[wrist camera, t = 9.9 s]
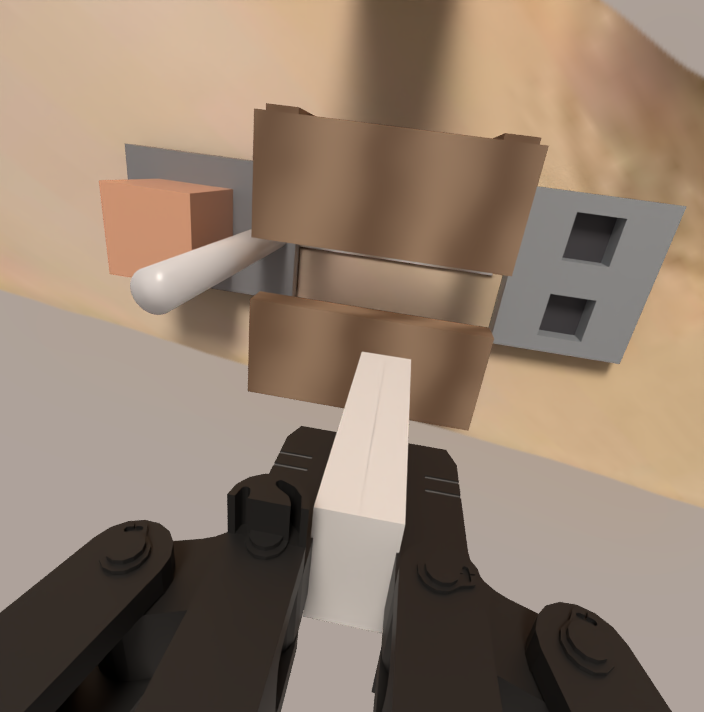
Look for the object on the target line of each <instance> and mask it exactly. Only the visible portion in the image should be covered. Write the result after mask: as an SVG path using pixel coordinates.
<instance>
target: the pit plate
mask: <svg viewBox="0 0 704 712" xmlns="http://www.w3.org/2000/svg"><path fill="white" fill-rule="evenodd" d="M686 207H687V206H679V205H672V204H665V203H657V202H650V201H642V200H635V199H627V198H620V197H612V196H605V195H597V194H590V193H582V192H575V191H567V190H560V189H552V188H545V187H538V186H537V189H536V193H535V196H534V200H533V203H532V207H531V210H530V214H529V217H528V221H527V224H526V228H525V232H524V235H523V239H522V242H521V246H520V249H519V253H518V256H517V260H516V263H515V267H514V271H513V274H512V276H505V275H503V277H502V280H501V284H500V288H499V291H498V295H497V299H496V302H495V306H494V310H493V313H492V317H491V321H490V324H489V328H490V330H491V332H492V335H493V337H494V341H493V343H494V344H500V345H506V346H512V347H518V348H524V349H530V350H537V351H543V352H549V353H555V354H561V355H567V356H573V357H580V358H586V359H592V360H598V361H604V362H610V363H617V364H620V362H621V359H622V357H623V355H624V352H625V350H626V348H627V345H628V343H629V340H630V338H631V336H632V333H633V331H634V329H635V326H636V324H637V322H638V319H639V317H640V315H641V312H642V310H643V308H644V305H645V303H646V301H647V298H648V296H649V294H650V291H651V289H652V286H653V284H654V282H655V279H656V277H657V275H658V272H659V270H660V268H661V265H662V263H663V261H664V258H665V256H666V254H667V251H668V249H669V247H670V244H671V242H672V239H673V237H674V235H675V232H676V230H677V228H678V225H679V223H680V221H681V218H682V216H683V214H684V211H685V209H686Z"/></svg>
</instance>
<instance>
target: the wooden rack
mask: <svg viewBox="0 0 704 712" xmlns="http://www.w3.org/2000/svg"><path fill="white" fill-rule="evenodd" d="M540 141H541V138H539V137H531V136H523V135H515V134H507V133H505V134H503V135H500V136H498V137H495V138H493V139H491V138H483V137H475V136H467V135H459V134H452V133H444V132H436V131H428V130H420V129H412V128H404V127H396V126H388V125H380V124H372V123H365V122H357V121H349V120H341V119H333V118H325V117H317V116H314V115H312V114H310V113H308V112H307V111H305V110H303V109H301V108H299V107H291V106H283V105H275V104H267V103H266V110H262V109H254V140H253V184H252V229H251V237H252V238H259V239H266V240H272V241H279V242H286V243H292V244H299V246H300V247H307V248H313V249H320V250H326V251H333V252H340V253H346V254H353V255H360V256H366V257H373V258H380V259H386V260H393V261H400V262H406V263H413V264H419V265H426V266H433V267H439V268H446V269H453V270H459V271H466V272H473V273H479V274H486V275H493V274H498V275H505V276H512V274H513V271H514V267H515V263H516V260H517V256H518V253H519V249H520V246H521V242H522V239H523V235H524V232H525V228H526V224H527V221H528V217H529V214H530V210H531V207H532V203H533V200H534V196H535V193H536V189H537V185H538V182H539V178H540V175H541V171H542V168H543V164H544V161H545V157H546V153H547V150H548V146H546V145H540ZM493 341H494V337H493V335H492V332H491V330H490V328H487V327H481V326H474V325H468V324H462V323H456V322H449V321H443V320H437V319H431V318H424V317H418V316H412V315H406V314H399V313H393V312H387V311H381V310H374V309H368V308H362V307H356V306H349V305H343V304H337V303H331V302H324V301H318V300H312V299H306V298H299V297H293V296H287V295H281V294H274V293H268V292H262V291H260V292H258V293H257V294H256V295H254V296H253V297H252V298H251V299H250V318H249V362H248V391H250V392H256V393H261V394H267V395H273V396H278V397H284V398H289V399H296V400H300V401H306V402H312V403H317V404H323V405H329V406H334V407H340V408H345V405H346V401H347V398H348V395H349V392H350V388H351V385H352V382H353V379H354V376H355V372H356V369H357V366H358V363H359V359H360V356H361V353H362V352H368V353H374V354H380V355H387V356H393V357H399V358H405V359H411V377H410V405H409V420H412V421H418V422H423V423H429V424H435V425H440V426H446V427H451V428H457V429H463V430H469V427H470V423H471V420H472V416H473V412H474V409H475V405H476V402H477V398H478V395H479V391H480V388H481V384H482V381H483V377H484V373H485V370H486V366H487V363H488V359H489V356H490V352H491V349H492V345H493Z"/></svg>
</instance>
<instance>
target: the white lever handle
mask: <svg viewBox="0 0 704 712" xmlns="http://www.w3.org/2000/svg"><path fill="white" fill-rule="evenodd" d="M125 152H126V163H127V174H128V180H100V181H99V186H100V194H101V203H102V211H103V220H104V228H105V237H106V246H107V254H108V263H109V271H110V274H113V275H119V276H125V277H131V278H132V279H131V283H130V289H131V293H132V296H133V298H134V300H135V301H136V303H137V304H138V305H139V306H140V307H141V308H142V309H143V310H145V311H147V312H149V313H151V314H156V315H161V314H165V313H168V312H169V311H171V310H173V309H175V308H176V307H178V306H180V305H182V304H183V303H185V302H187V301H189V300H190V299H192V298H194V297H196V296H197V295H199V294H201V293H203V292H204V291H206V290H208V289H210V288H213V289H219V290H225V291H231V292H237V293H244V294H250V295H256V294H257V293H258V292H260V291H262V292H268V293H274V294H281V295H287V296H293V297H296V285H297V270H298V256H299V244H292V243H286V242H279V241H272V240H266V239H259V238H252V237H251V229H252V184H253V161H251V160H244V159H237V158H229V157H222V156H215V155H207V154H200V153H193V152H185V151H178V150H170V149H163V148H156V147H148V146H141V145H133V144H125Z"/></svg>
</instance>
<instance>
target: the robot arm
mask: <svg viewBox="0 0 704 712" xmlns="http://www.w3.org/2000/svg"><path fill="white" fill-rule="evenodd" d="M410 377H411V359H405V358H399V357H393V356H387V355H380V354H374V353H368V352H362V353H361V356H360V359H359V363H358V366H357V369H356V372H355V376H354V379H353V382H352V385H351V388H350V392H349V395H348V398H347V401H346V405H345V408H344V411H343V414H342V417H341V421H340V424H339V427H338V431H337V432H332V431H327V430H321V429H315V428H310V427H304V426H301V427H300V428H298V429H297V430H296V431H294V432H293V433H292V434H290V435H289V436H288V437H287V439H286V441H285V443H284V445H283V447H282V449H281V451H280V454H279V455H278V457H277V459H276V461H275V464H274V466H273V467H272V469H271V471H270V473H269V474H262V475H257V476H252V477H249V478H247V479H245V480H243V481H241V482H239V483H238V484H236V485H235V486H234V487H233V488H232V490H231V491H230V492H229V493H228V494H227V505H228V532H227V533H224V534H221V535H218V536H216V537H210V538H204V539H195V540H183V541H173V540H172V537H171V534H170V532H169V530H167V529H166V528H165V527H163V526H162V525H161V524H159V523H156V522H151V521H147V520H139V521H128V522H125V523H122V524H119V525H116V526H113V527H110V528H109V529H107V530H105V531H104V532H102V533H100V534H99V535H97V536H96V537H94V538H93V539H92V540H90V541H89V542H88V543H87V544H85V545H84V546H83V547H82V548H80V549H79V550H78V551H77V552H75V553H74V554H73V555H72V556H70V557H69V558H68V559H67V560H65V561H64V562H63V563H62V564H60V565H59V566H58V567H57V568H56V569H54V570H53V571H52V572H50V573H49V574H48V575H47V576H45V577H44V578H43V579H42V580H40V582H38V583H37V584H35V585H34V586H33V587H32V588H31V589H29V590H28V591H27V592H26V593H24V594H23V595H22V596H21V597H19V598H18V599H17V600H16V601H14V602H13V603H12V604H11V605H9V606H8V607H7V608H6V609H4V610H3V611H2V612H1V613H0V712H281V709H282V704H283V701H284V697H285V693H286V689H287V685H288V680H289V677H290V673H291V669H292V665H293V661H294V657H295V653H296V649H297V638H298V630H299V625H300V622H301V618H302V614H303V616H304V617H308V618H312V619H317V620H322V621H326V622H331V623H336V624H341V625H345V626H350V627H355V628H359V629H364V630H368V631H373V632H378V633H382V629H383V633H382V647H381V651H380V656H379V661H378V665H377V670H376V674H375V679H374V683H373V688H372V692H373V693H375V699H374V710H373V712H672V711H671V710H670V708H669V707H668V705H667V704H666V702H665V701H664V699H663V698H662V696H661V695H660V693H659V692H658V690H657V689H656V687H655V686H654V684H653V683H652V681H651V679H650V678H649V677H648V675H647V673H646V672H645V670H644V669H643V667H642V666H641V664H640V663H639V661H638V660H637V658H636V657H635V655H634V654H633V652H632V651H631V649H630V647H629V646H628V645H627V643H626V642H625V641H624V640H623V639H622V637H621V636H620V635H619V634H618V633H617V631H616V630H615V629H614V628H613V627H612V626H611V625H609V624H608V623H606V622H605V621H604V620H603V619H602V618H600V617H599V616H598V615H596V614H595V613H593V612H591V611H589V610H587V609H584V608H582V607H580V606H578V605H575V604H569V603H563V602H558V603H554V604H550V605H546V606H545V607H544V608H543V609H542V611H541V612H540V613H539V614H538V613H536V612H533V611H532V610H529V609H528V608H526V607H523V606H521V605H519V604H517V603H515V602H513V601H511V600H509V599H508V598H505V597H504V596H502V595H501V594H499V593H498V592H496V591H495V590H493V589H492V588H491V587H490V586H489V585H488V584H486V583H485V582H484V581H483V579H482V578H481V577H480V575H479V572H478V569H477V568H476V567H475V565H474V564H473V563H472V562H471V560H470V558H469V554H468V549H467V541H466V534H465V526H464V518H463V511H462V503H461V499H460V489H459V485H458V482H459V481H458V472H457V465H456V464H455V462H454V461H453V459H452V458H451V456H450V455H449V454H448V452H447V451H446V450H443V449H437V448H432V447H426V446H421V445H415V444H409V443H408V433H409V405H410ZM303 610H304V613H303Z"/></svg>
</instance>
